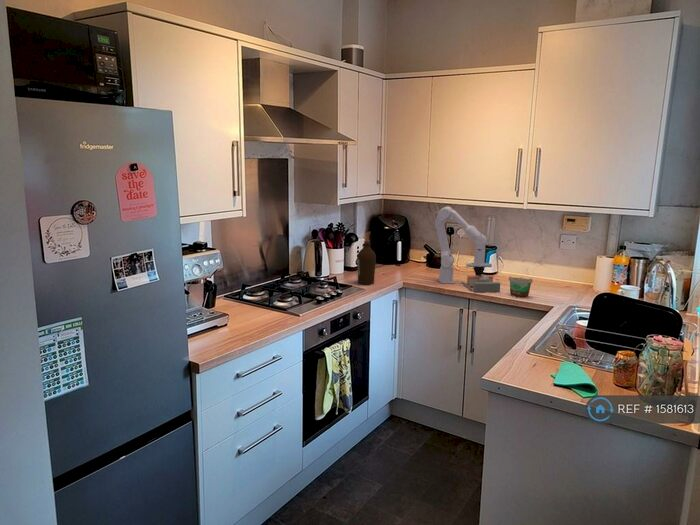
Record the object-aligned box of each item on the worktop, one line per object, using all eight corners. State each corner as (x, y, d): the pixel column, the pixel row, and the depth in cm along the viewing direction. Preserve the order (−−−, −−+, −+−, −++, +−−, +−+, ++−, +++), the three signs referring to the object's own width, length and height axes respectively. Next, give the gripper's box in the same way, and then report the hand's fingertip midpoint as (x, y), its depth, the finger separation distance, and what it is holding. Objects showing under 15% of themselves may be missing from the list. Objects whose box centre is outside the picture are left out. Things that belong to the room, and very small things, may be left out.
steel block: (476, 287, 289) (477, 275, 287) (484, 287, 289) (485, 275, 288) (479, 289, 284) (480, 277, 283) (488, 289, 284) (489, 277, 283)
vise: (461, 283, 297) (461, 275, 296) (488, 283, 299) (489, 275, 298) (472, 292, 278) (473, 283, 277) (501, 292, 280) (502, 283, 279)
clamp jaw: (466, 285, 291) (467, 275, 290) (490, 285, 293) (491, 275, 292) (468, 287, 288) (469, 276, 287) (492, 286, 290) (493, 276, 289)
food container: (505, 295, 272) (506, 277, 270) (507, 293, 278) (509, 275, 276) (529, 299, 267) (531, 280, 265) (531, 296, 272) (532, 278, 270)
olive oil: (375, 281, 299) (376, 239, 294) (374, 285, 289) (375, 242, 283) (357, 280, 300) (358, 238, 295) (356, 285, 289) (356, 241, 284)
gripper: (469, 257, 286) (468, 281, 289) (494, 257, 287) (492, 281, 290) (465, 255, 293) (463, 278, 295) (489, 255, 294) (488, 278, 297)
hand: (477, 279), depth 293 cm, fingers closed, pressing on clamp jaw
